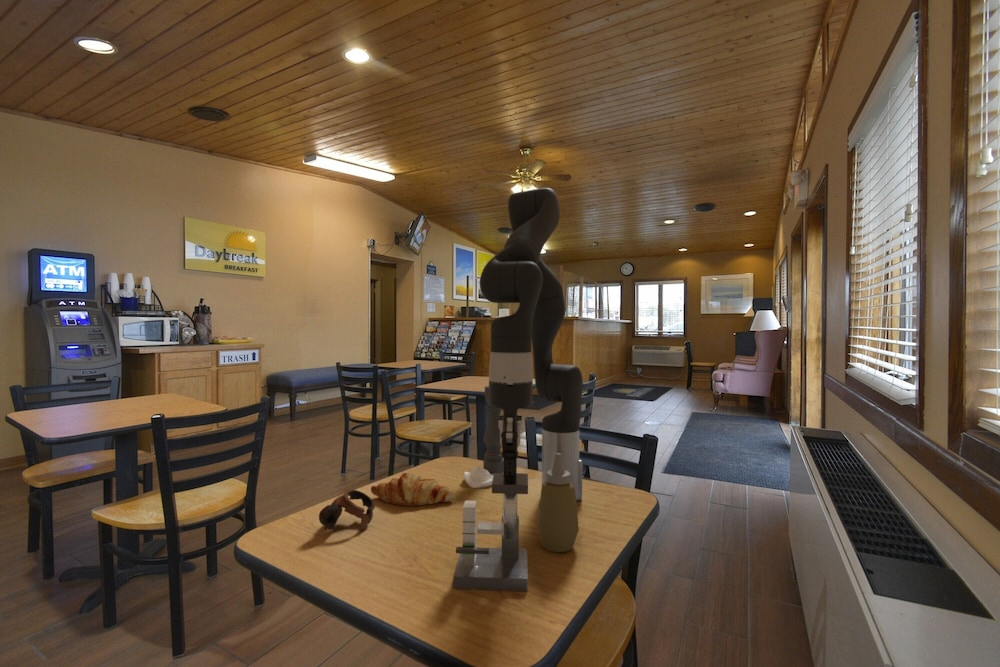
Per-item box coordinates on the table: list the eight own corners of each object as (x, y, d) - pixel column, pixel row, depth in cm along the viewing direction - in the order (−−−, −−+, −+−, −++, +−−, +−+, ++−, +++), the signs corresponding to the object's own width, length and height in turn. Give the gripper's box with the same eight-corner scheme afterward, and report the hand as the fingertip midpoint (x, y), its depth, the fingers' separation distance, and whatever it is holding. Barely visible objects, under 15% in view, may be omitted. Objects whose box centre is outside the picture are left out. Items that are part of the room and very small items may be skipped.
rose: (453, 467, 126) (478, 459, 133) (453, 483, 126) (478, 474, 133) (479, 475, 119) (504, 466, 126) (479, 492, 119) (504, 482, 126)
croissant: (456, 512, 115) (460, 478, 118) (450, 507, 106) (453, 471, 109) (374, 506, 116) (380, 474, 120) (360, 501, 108) (367, 466, 111)
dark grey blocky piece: (527, 529, 82) (527, 473, 82) (527, 545, 76) (528, 485, 76) (480, 527, 83) (480, 472, 82) (477, 543, 77) (477, 484, 76)
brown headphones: (342, 515, 105) (361, 484, 105) (367, 543, 100) (387, 511, 100) (300, 521, 94) (320, 487, 94) (326, 553, 90) (347, 517, 89)
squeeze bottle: (552, 560, 84) (552, 462, 84) (529, 541, 91) (529, 451, 91) (587, 550, 88) (588, 456, 88) (562, 533, 95) (563, 446, 95)
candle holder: (505, 467, 139) (505, 385, 138) (503, 474, 132) (503, 388, 132) (484, 467, 139) (485, 384, 139) (481, 473, 133) (482, 387, 133)
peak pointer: (488, 551, 78) (488, 547, 78) (488, 554, 77) (488, 550, 77) (456, 550, 78) (456, 546, 78) (455, 553, 77) (455, 549, 77)
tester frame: (527, 559, 84) (527, 494, 84) (527, 591, 74) (527, 517, 74) (461, 557, 85) (462, 493, 85) (453, 588, 75) (454, 515, 75)
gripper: (491, 374, 86) (491, 466, 86) (485, 382, 72) (485, 492, 73) (532, 374, 85) (531, 467, 86) (533, 383, 72) (532, 493, 72)
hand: (510, 478), depth 79 cm, fingers closed
